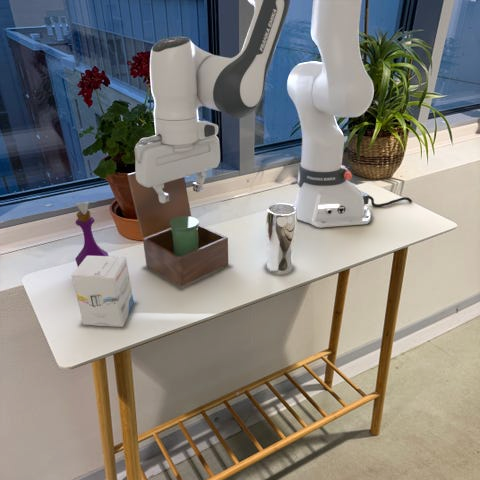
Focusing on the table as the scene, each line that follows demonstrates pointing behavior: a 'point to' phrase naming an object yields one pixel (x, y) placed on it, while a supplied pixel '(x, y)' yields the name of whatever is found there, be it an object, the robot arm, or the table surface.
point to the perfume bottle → (87, 234)
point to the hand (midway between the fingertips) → (181, 196)
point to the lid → (158, 204)
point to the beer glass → (280, 237)
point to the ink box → (103, 290)
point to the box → (186, 256)
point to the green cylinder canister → (184, 234)
